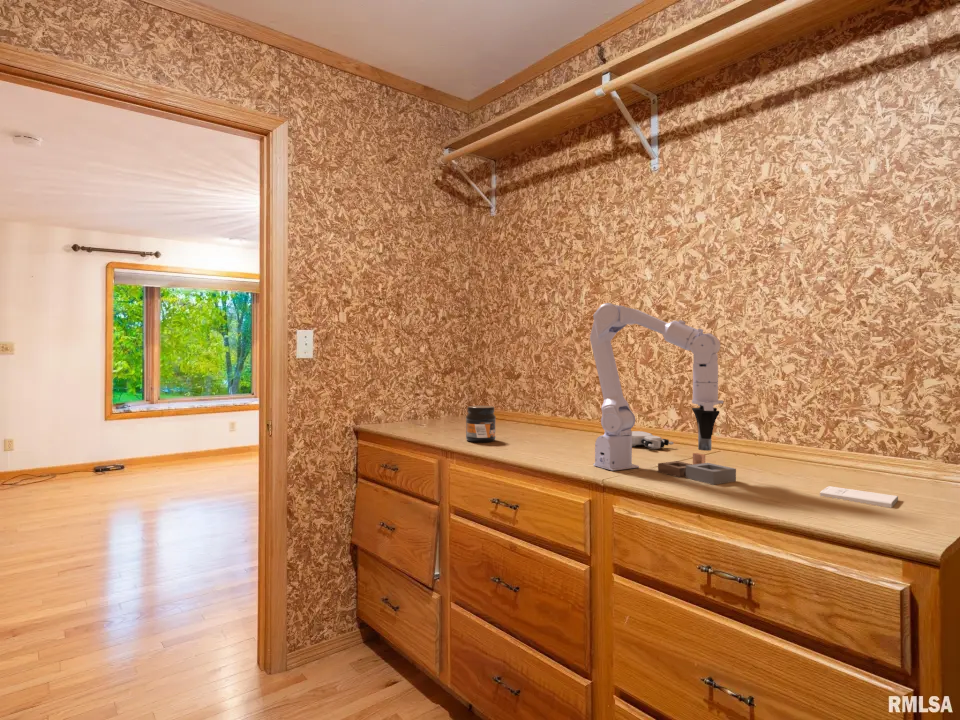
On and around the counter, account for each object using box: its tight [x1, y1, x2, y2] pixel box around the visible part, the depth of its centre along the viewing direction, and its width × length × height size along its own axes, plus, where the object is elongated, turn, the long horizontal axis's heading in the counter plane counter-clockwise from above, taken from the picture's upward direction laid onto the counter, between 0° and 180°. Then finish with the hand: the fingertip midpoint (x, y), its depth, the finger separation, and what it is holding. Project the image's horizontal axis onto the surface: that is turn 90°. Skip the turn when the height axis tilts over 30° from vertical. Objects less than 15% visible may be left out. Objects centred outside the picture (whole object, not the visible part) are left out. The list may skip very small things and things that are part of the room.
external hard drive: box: [819, 485, 899, 509], centre depth 113 cm, size 2×8×12 cm
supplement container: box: [465, 405, 497, 444], centre depth 187 cm, size 10×10×12 cm
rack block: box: [685, 462, 737, 486], centre depth 130 cm, size 8×8×3 cm
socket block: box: [657, 460, 693, 478], centre depth 137 cm, size 7×7×2 cm
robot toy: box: [631, 430, 674, 450], centre depth 176 cm, size 12×4×15 cm
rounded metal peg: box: [697, 423, 712, 452], centre depth 131 cm, size 3×3×8 cm
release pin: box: [692, 452, 706, 465], centre depth 139 cm, size 6×3×4 cm, turn 118°
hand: (705, 437), depth 131 cm, fingers closed on rounded metal peg, 3 cm apart
